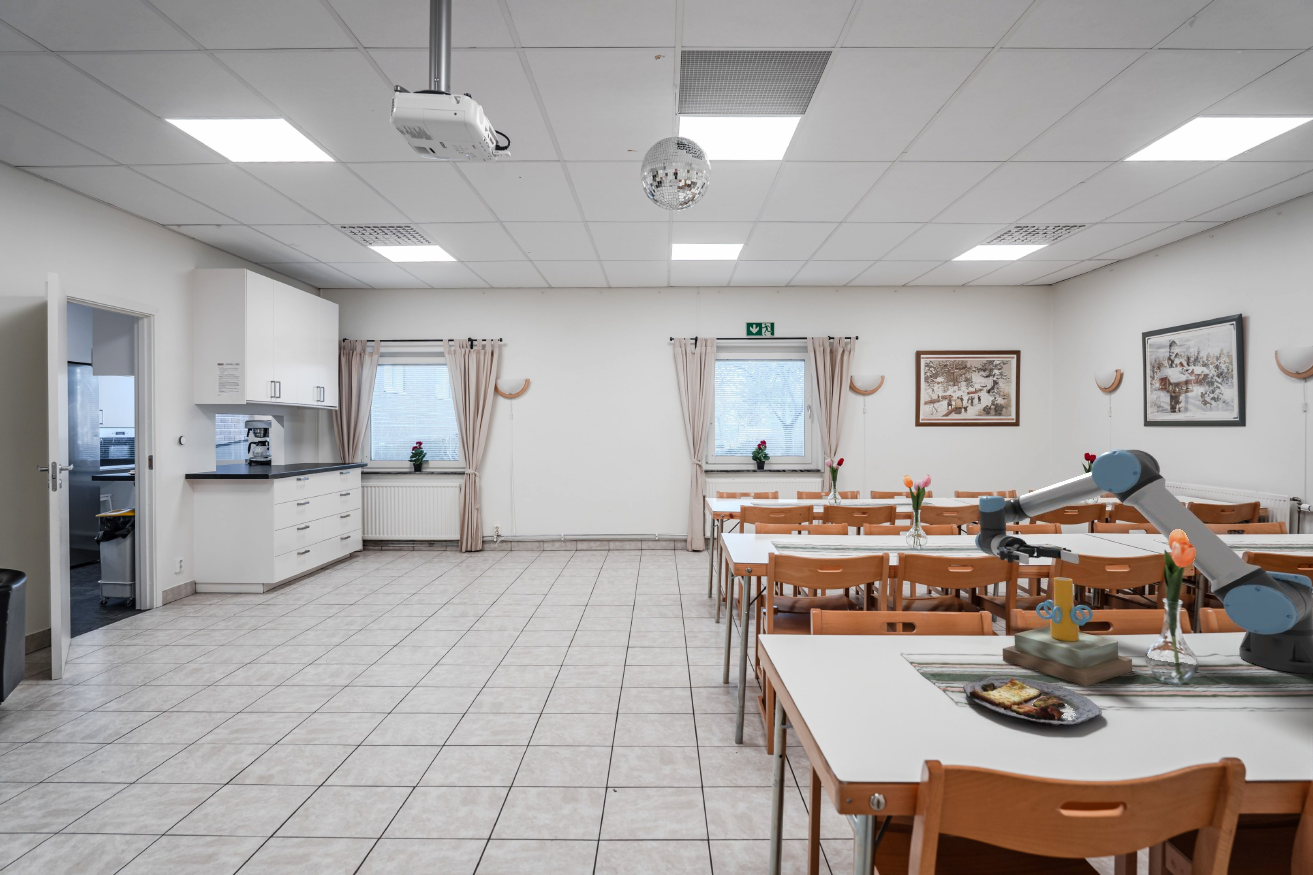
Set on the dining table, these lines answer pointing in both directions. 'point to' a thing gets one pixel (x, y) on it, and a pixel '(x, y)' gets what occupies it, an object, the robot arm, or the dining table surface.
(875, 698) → the dining table surface
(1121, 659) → the plinth
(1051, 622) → the upright yellow plank
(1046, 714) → the food plate
